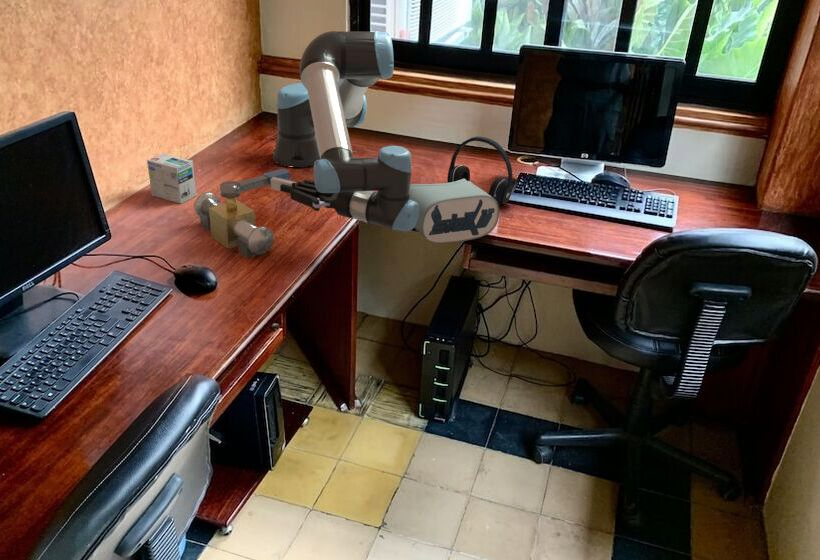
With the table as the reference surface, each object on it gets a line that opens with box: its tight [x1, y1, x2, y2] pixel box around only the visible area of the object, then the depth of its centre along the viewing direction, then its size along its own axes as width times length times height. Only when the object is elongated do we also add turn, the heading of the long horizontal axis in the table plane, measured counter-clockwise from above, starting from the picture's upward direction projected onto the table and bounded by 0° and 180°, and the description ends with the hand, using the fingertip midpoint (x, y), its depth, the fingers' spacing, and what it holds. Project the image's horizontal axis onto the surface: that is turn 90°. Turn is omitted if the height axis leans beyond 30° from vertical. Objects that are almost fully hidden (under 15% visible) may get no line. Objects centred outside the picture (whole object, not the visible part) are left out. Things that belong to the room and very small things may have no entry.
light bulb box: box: [146, 152, 197, 205], centre depth 202 cm, size 11×7×11 cm, turn 65°
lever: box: [219, 168, 291, 199], centre depth 183 cm, size 19×5×2 cm, turn 134°
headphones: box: [447, 136, 514, 206], centre depth 213 cm, size 20×7×18 cm, turn 55°
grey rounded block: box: [409, 179, 500, 245], centre depth 195 cm, size 22×19×13 cm
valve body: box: [193, 191, 275, 259], centre depth 183 cm, size 26×8×12 cm, turn 44°
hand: (272, 182), depth 184 cm, fingers closed
